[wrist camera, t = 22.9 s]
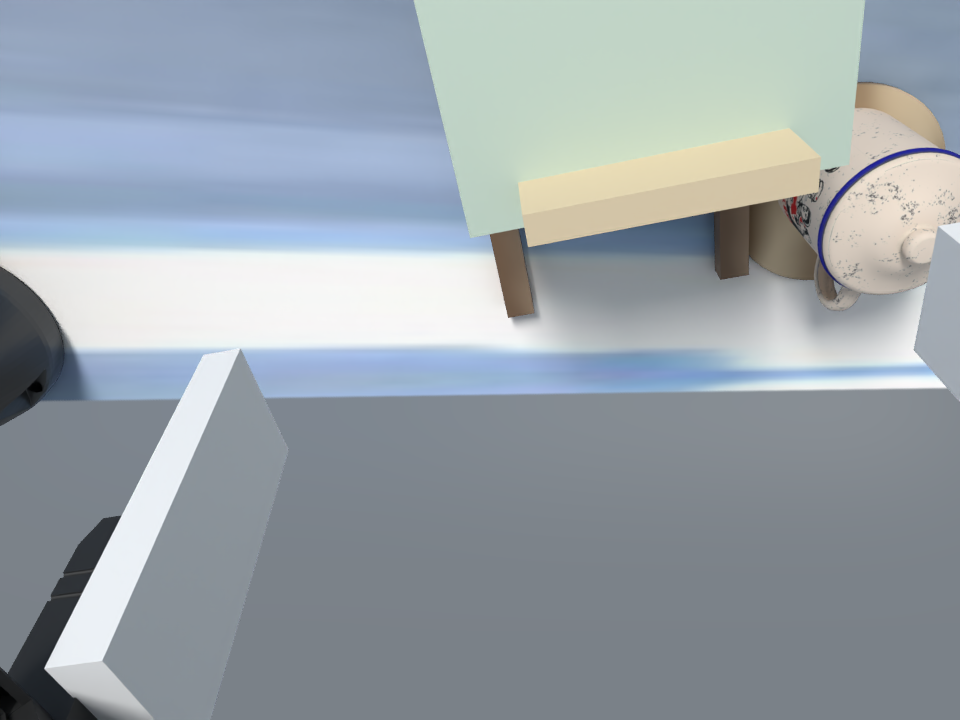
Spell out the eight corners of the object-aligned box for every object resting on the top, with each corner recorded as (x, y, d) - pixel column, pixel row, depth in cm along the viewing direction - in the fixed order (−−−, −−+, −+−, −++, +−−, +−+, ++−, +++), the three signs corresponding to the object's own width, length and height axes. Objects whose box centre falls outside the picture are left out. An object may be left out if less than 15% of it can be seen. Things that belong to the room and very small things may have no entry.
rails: (507, 307, 56) (508, 317, 54) (405, -162, 38) (402, -162, 37) (742, 264, 54) (748, 274, 52) (745, -251, 36) (755, -254, 35)
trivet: (730, 289, 55) (733, 295, 54) (729, 107, 47) (732, 111, 46) (922, 255, 53) (928, 260, 53) (956, 60, 45) (963, 63, 45)
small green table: (471, 135, 46) (469, 273, 31) (415, -122, 38) (378, -97, 23) (748, 76, 44) (885, 196, 29) (750, -207, 36) (941, -239, 21)
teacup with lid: (798, 95, 46) (882, 161, 36) (935, 109, 46) (1053, 178, 37) (739, 262, 53) (797, 355, 43) (858, 273, 53) (941, 367, 44)
